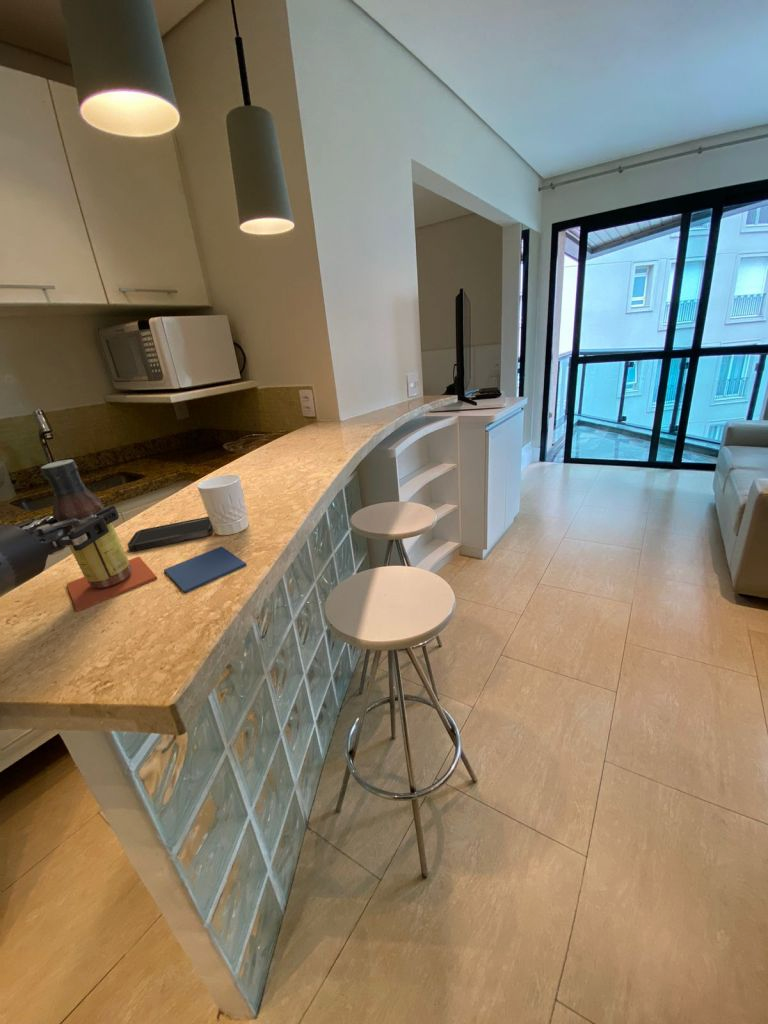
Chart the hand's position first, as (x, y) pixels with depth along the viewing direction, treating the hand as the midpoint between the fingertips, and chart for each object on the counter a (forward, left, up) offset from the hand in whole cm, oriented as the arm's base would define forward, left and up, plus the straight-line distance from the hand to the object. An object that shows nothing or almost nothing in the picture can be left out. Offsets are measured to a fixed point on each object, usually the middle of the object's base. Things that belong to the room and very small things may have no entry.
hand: (96, 512), depth 64 cm
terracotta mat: (-2, -1, -11) cm, 12 cm away
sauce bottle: (-2, -2, -11) cm, 11 cm away
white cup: (+20, +2, -12) cm, 23 cm away
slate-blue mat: (+10, -10, -11) cm, 18 cm away
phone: (+11, +9, -11) cm, 18 cm away
